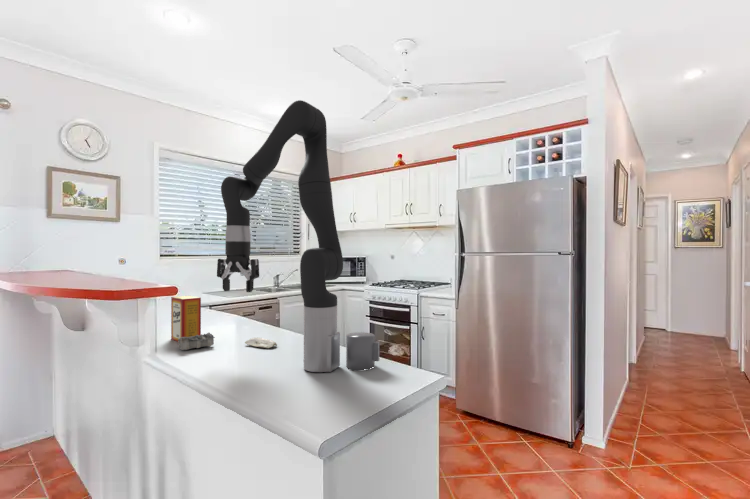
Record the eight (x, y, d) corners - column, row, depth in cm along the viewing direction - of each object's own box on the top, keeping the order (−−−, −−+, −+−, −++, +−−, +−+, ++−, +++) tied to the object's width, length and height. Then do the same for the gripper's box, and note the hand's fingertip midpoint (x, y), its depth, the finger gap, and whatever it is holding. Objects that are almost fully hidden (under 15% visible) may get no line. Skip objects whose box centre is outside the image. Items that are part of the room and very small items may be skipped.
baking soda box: (171, 339, 145) (171, 296, 145) (189, 336, 150) (189, 294, 150) (182, 343, 139) (182, 298, 139) (200, 340, 144) (200, 296, 144)
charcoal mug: (382, 365, 113) (383, 333, 113) (374, 373, 106) (374, 339, 106) (352, 362, 116) (352, 331, 116) (341, 369, 109) (341, 337, 109)
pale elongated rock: (242, 343, 134) (249, 332, 137) (250, 349, 138) (256, 339, 140) (268, 349, 128) (274, 338, 131) (275, 356, 132) (282, 345, 134)
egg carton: (180, 350, 126) (179, 338, 126) (177, 347, 132) (176, 335, 132) (215, 345, 132) (215, 333, 132) (211, 342, 138) (210, 330, 138)
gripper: (264, 240, 127) (263, 291, 127) (227, 240, 131) (227, 289, 131) (249, 240, 120) (249, 293, 120) (211, 240, 124) (211, 291, 124)
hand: (237, 291), depth 125 cm, fingers open, 8 cm apart
